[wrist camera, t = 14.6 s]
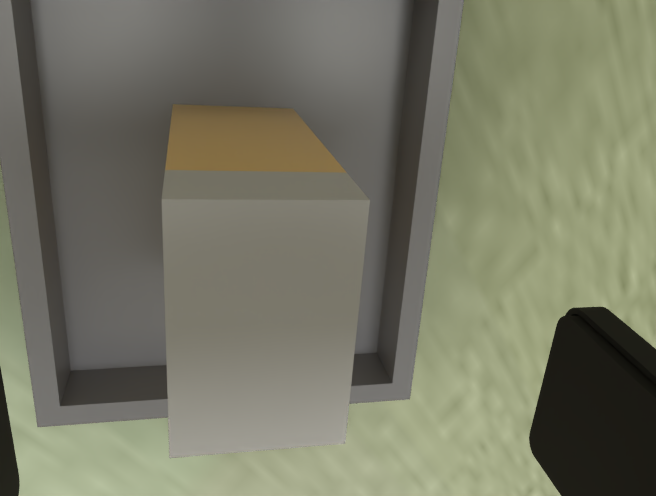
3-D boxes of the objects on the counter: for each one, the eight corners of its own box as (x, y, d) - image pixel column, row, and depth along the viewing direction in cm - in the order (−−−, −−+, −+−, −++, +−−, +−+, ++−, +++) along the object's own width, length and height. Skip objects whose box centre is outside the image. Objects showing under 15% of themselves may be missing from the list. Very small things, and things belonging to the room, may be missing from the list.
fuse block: (293, 108, 21) (369, 200, 12) (285, 268, 24) (345, 443, 15) (172, 104, 21) (161, 199, 12) (176, 270, 23) (169, 457, 14)
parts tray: (433, -34, 21) (468, -36, 19) (387, 357, 27) (409, 399, 24) (-1, -69, 18) (-33, -77, 16) (54, 377, 24) (37, 427, 22)
